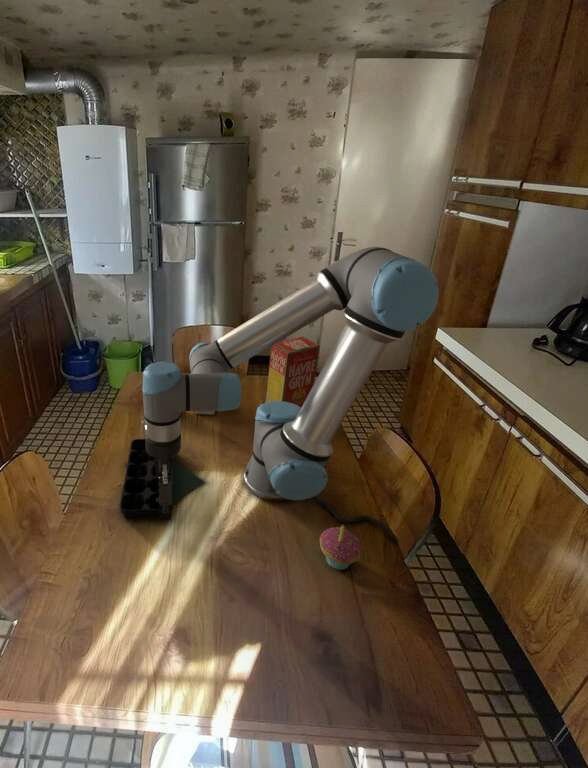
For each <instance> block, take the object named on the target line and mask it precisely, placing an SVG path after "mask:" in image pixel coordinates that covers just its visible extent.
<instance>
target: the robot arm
mask: <svg viewBox="0 0 588 768" xmlns="http://www.w3.org/2000/svg"><path fill="white" fill-rule="evenodd" d="M439 288H440V287H439V284H438V280H437V278H436V276H435V274H434V273H433V272H432V270H431V269H429V268H428V267H427V266H426V265H424V264H422V263H421V262H420V261H418V260H417V259H415V258H411V257H408V256H405V255H402V254H400V253H398V252H395V251H393V250H391V249H389V248H386V247H381V246H371V247H370V246H369V247H365V248H361V249H358V250H356V251H354V252H351V253H350V254H348V255H345V256H343V257H342V258H340V259H338V260H337V261H334V262H333V263H331V264H329V265H328V266H326V267H325V268H323V269H321V270H320V271H318V272H317V275H316V278H315V279H314V280H313V281H311V282H309V283H308V284H306V285H304V286H303V287H301V288H299V289H297V290H296V291H294V292H293V293H291V294H290V295H288V296H286V297H285V298H283V299H281V300H279V301H278V302H276V303H275V304H273V305H271V306H270V307H268V308H266V309H265V310H263V311H262V312H260V313H258V314H257V315H255V316H254V317H251V318H250V319H249V320H247V321H245V322H244V323H242V324H240V325H239V326H237V327H235V328H234V329H232V330H231V331H229V332H227V333H226V334H224V335H222V336H221V337H219V338H217V339H216V340H214V341H212V342H208V341H205V342H199V343H197V344H195V345H194V346H193V347H192V348H191V350H190V352H189V356H188V357H189V358H188V366H189V370H190V373H182V371H181V368H180V366H179V365H177V364H176V363H174V362H168V361H157V362H153V363H150V364H148V365H147V366H146V367H145V368H144V370H143V372H142V400H143V401H142V402H143V415H144V417H143V418H144V420H142V421H141V426H144V434H145V436H144V439H145V444H146V451H147V453H148V454H149V455H150V456H152V457H154V458H155V469H156V476H157V478H158V481H159V482H158V485H159V490H158V492H159V497H156V502H159V519H158V520H159V522H169V521H172V511H171V503H172V500H171V493H173V488H172V489H171V482H172V479H171V477H172V468H173V456H174V457H175V456H177V455H178V454H180V452H181V449H182V412H195V411H215V412H223V411H233V410H237V409H238V408H240V405H241V402H242V382H241V378H240V376H239V374H237V373H234V372H230V371H231V370H233V369H235V368H236V367H237V366H240V365H241V364H243V363H245V362H246V361H248V360H250V359H251V358H253V357H255V356H256V355H258V354H260V353H262V352H264V351H265V350H267V349H269V348H271V346H272V345H274V344H275V343H277V342H280V341H283V340H284V339H286V338H287V337H289V336H291V335H294V333H296V332H298V331H299V330H301V329H303V328H305V327H306V326H308V325H309V324H311V323H313V322H315V321H317V320H319V319H320V318H322V317H324V316H325V315H327V314H328V313H331V312H332V311H334V310H336V311H339V312H340V311H341V312H342V311H343V313H342V314H343V316H344V320H345V326H344V327H343V329H342V330H341V333H340V335H339V337H338V339H337V341H336V342H335V344H334V346H333V348H332V350H331V351H330V354H329V356H327V358H326V361H325V363H324V365H323V367H322V369H321V371H320V372H319V374H318V376H317V377H316V378H315V380H314V385H313V387H312V389H311V391H310V393H309V394H308V396H307V398H306V400H305V402H304V404H303V406H302V407H299V406H297V405H295V404H293V403H289V402H283V401H271V402H266V401H265V402H264V403H262V404H260V405H259V406H258V407H257V408H256V412H255V413H256V414H255V416H254V419H255V420H254V421H255V422H254V433H253V447H252V455H251V457H250V459H249V461H248V463H247V465H246V466H245V469H244V471H243V472H244V473H243V483H244V485H245V488H246V489H247V490H248V491H249V492H250V493H251V494H253V495H254V496H256V497H257V498H260V499H262V500H265V501H270V502H286V501H289V500H290V501H304V500H306V499H312V500H314V501H316V502H317V503H320V504H321V505H323V506H325V507H326V508H327V509H328V510H329V511H330V512H331V514H332V515H333V516H334V518H335V519H336V520H337V521H339V522H341V523H344V524H353V523H357V522H359V521H368V522H371V523H374V524H376V525H378V526H380V527H381V528H383V529H384V530H385V531H386V532H387V533H388V535H389V536H390V537H391V539H392V540H393V542H395V543H399V539H398V538H397V536H396V535H395V534H394V532H393V531H392V529H390V527H388V526H387V525H386V524H385V523H384V522H382V521H380V520H379V519H377V518H374V517H372V516H367V515H358V516H357V517H354V518H350V519H348V518H347V519H346V518H344V517H341V516H340V515H339V514H338V513H337V511H336V510H335V508H334V507H333V506H332V505H331V504H330V503H328V502H327V501H325V500H323V499H321V498H319V497H318V496H317V495H319V494H320V493H321V492H323V490H325V488H326V486H327V483H328V479H329V478H328V471H327V469H325V466H326V465H327V463H328V462H329V461H330V458H331V456H332V455H333V452H334V447H333V444H332V440H333V438H334V437H335V435H336V433H337V431H338V430H339V428H340V427H341V425H342V423H343V422H344V420H345V418H346V416H347V414H348V413H349V411H350V410H351V408H352V406H353V404H354V403H355V401H356V399H357V398H358V396H359V394H360V392H361V391H362V390H363V387H364V386H365V384H366V383H367V381H368V379H369V378H370V376H371V374H372V372H373V371H374V369H375V367H376V366H377V364H378V362H379V361H380V359H381V357H382V356H383V353H385V350H386V348H387V347H388V345H390V344H391V343H394V342H397V341H400V340H402V338H403V337H404V335H405V333H406V332H407V331H411V330H413V329H415V328H416V327H417V326H421V325H423V324H424V323H425V322H426V321H428V320H429V318H431V316H432V314H433V313H434V311H435V309H436V307H437V304H438V300H439V295H440V293H439V292H440V289H439Z"/></svg>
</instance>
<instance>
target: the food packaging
mask: <svg viewBox="0 0 588 768" xmlns="http://www.w3.org/2000/svg"><path fill="white" fill-rule="evenodd" d="M320 347H321V345H320V344H319V343H318V342H315V341H313V340H311V339H309V338H307V337H305V336H297V337H294V338H290V339H286V340H281V341H279V342H277V343H275V344H274V345H272V346H270V355H269V364H268V365H269V366H268V375H267V384H266V385H267V386H266V396H265V403H266V402H271V401H283V402H289V403H293V404H295V405H297V406H299V407H302V406H303V404H304V402H305V400H306V398H307V396H308V394H309V393H310V391H311V389H312V387H313V385H314V383H315V381H316V374H317V367H318V361H319V355H320Z"/></svg>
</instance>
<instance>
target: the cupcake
mask: <svg viewBox="0 0 588 768" xmlns="http://www.w3.org/2000/svg"><path fill="white" fill-rule="evenodd" d="M319 546H320V549H321V552H322V554H323V555H324V556H325V560H326V562H327V564H328V565H329V566H330V567H332V568H333V569H336V570H339V571H340V570H341V571H342V570H346V569H347V568H348V567H350V565H351V564H354V563H356V562H358V561H359V560H360V557H361V555H362V552H363V547H362V544H361V541H360V539H359V537H358V536H357V535H355V534H354V533H353V532H352V531H350V530H349V529H346V528H345V526H344V524H342V525H341V526H340V527H339V526H337V527H336V526H335V527H334V526H333V527H328V528H326V529H325V530H323V532H322V533H321V535H320V536H319Z"/></svg>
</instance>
